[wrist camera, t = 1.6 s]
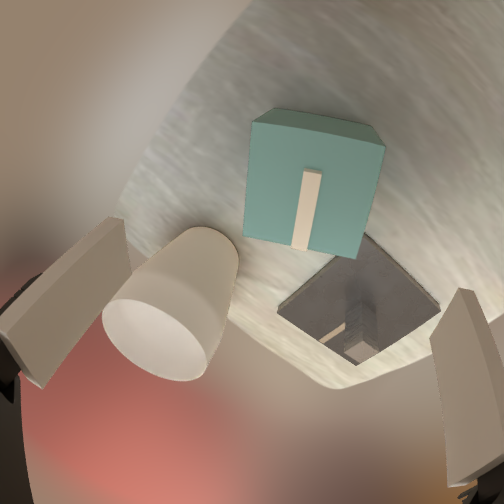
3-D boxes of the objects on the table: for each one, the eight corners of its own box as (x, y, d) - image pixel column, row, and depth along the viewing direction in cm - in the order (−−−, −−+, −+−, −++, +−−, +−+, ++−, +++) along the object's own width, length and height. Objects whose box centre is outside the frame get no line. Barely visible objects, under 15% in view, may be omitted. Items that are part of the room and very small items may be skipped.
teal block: (274, 108, 22) (249, 123, 16) (371, 126, 21) (387, 149, 14) (264, 195, 26) (240, 240, 20) (351, 212, 25) (355, 264, 19)
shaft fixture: (362, 231, 25) (367, 273, 21) (439, 304, 27) (450, 348, 22) (278, 306, 32) (266, 349, 27) (356, 359, 34) (354, 401, 29)
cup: (151, 244, 32) (84, 320, 22) (206, 196, 27) (135, 276, 18) (208, 302, 34) (164, 389, 25) (270, 268, 30) (235, 369, 20)
